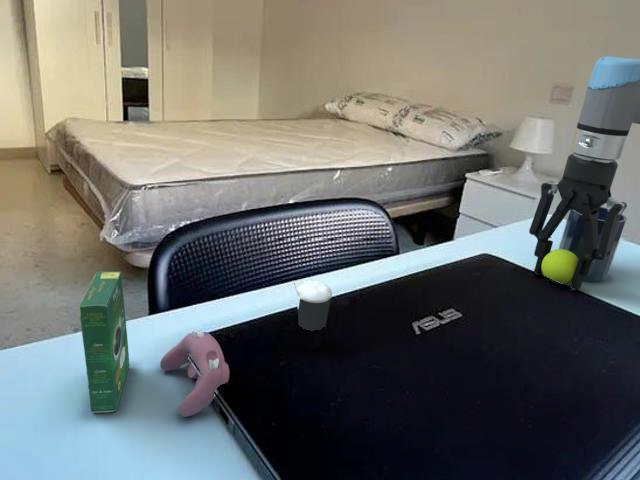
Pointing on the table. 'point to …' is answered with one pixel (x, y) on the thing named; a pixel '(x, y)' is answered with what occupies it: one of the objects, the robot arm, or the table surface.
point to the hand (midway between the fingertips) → (556, 281)
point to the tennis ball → (560, 265)
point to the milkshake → (313, 304)
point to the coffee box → (105, 340)
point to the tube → (575, 241)
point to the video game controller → (209, 365)
